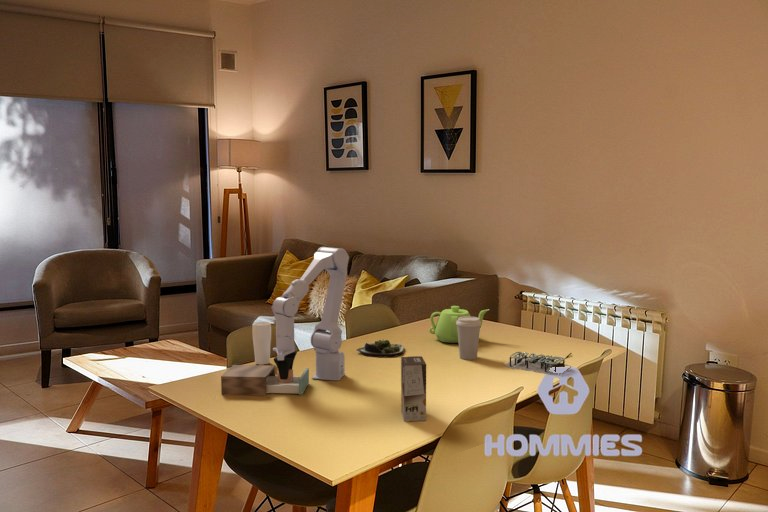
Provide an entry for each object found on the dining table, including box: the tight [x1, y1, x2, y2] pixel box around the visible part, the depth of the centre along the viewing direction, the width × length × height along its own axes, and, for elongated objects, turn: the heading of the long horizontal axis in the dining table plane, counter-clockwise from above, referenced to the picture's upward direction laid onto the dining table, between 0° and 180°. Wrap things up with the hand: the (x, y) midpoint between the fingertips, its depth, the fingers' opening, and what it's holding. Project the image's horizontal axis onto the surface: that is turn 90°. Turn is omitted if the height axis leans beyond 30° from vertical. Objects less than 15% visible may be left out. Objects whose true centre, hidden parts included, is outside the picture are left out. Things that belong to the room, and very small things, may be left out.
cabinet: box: [220, 364, 276, 396], centre depth 210 cm, size 14×13×6 cm
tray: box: [266, 367, 310, 396], centre depth 210 cm, size 14×13×5 cm
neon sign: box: [504, 351, 572, 376], centre depth 242 cm, size 21×4×29 cm
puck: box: [276, 368, 294, 384], centre depth 209 cm, size 5×5×4 cm
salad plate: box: [356, 339, 405, 358], centre depth 258 cm, size 19×18×5 cm
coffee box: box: [400, 355, 427, 422], centre depth 185 cm, size 9×6×16 cm
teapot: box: [428, 305, 490, 344], centre depth 275 cm, size 19×20×14 cm
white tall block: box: [251, 321, 272, 365], centre depth 239 cm, size 7×7×15 cm
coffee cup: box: [456, 315, 483, 361], centre depth 247 cm, size 10×10×15 cm
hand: (285, 376), depth 209 cm, fingers closed on puck, 5 cm apart
